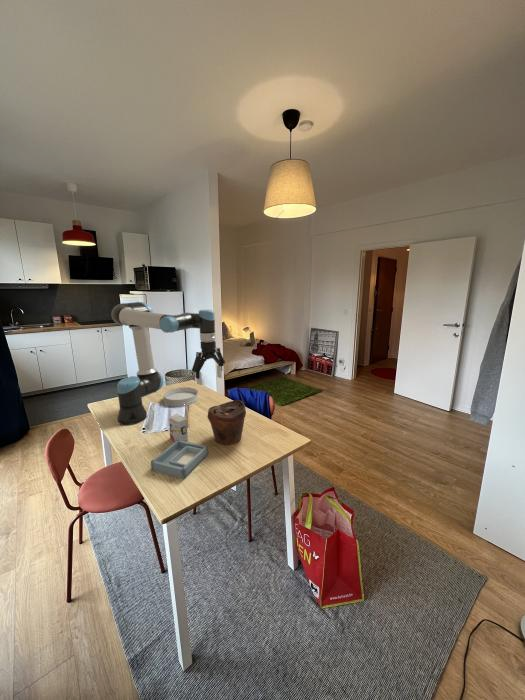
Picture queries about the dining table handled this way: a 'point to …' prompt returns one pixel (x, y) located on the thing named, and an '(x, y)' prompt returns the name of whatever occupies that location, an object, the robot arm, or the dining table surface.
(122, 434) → the dining table surface
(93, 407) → the dining table surface
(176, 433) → the ink box
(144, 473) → the dining table surface
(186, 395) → the dish
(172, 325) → the robot arm
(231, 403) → the brown pot
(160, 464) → the walled box
